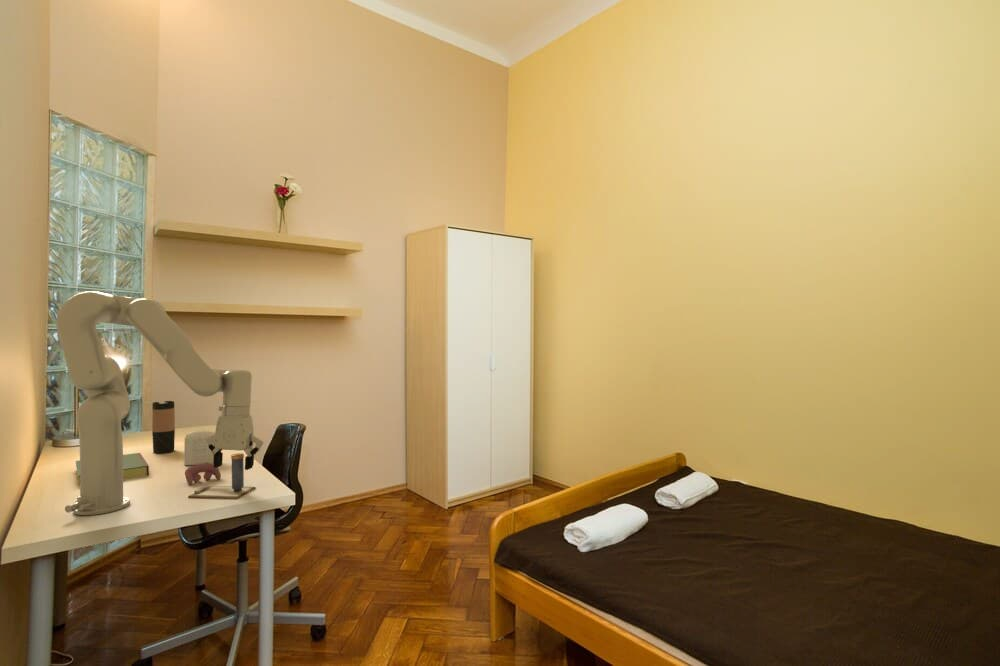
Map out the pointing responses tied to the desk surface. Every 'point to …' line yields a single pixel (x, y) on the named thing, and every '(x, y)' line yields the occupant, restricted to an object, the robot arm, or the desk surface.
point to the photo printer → (198, 447)
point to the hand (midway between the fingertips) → (233, 467)
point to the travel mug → (163, 427)
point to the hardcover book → (128, 466)
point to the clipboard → (219, 492)
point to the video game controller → (201, 467)
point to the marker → (237, 472)
